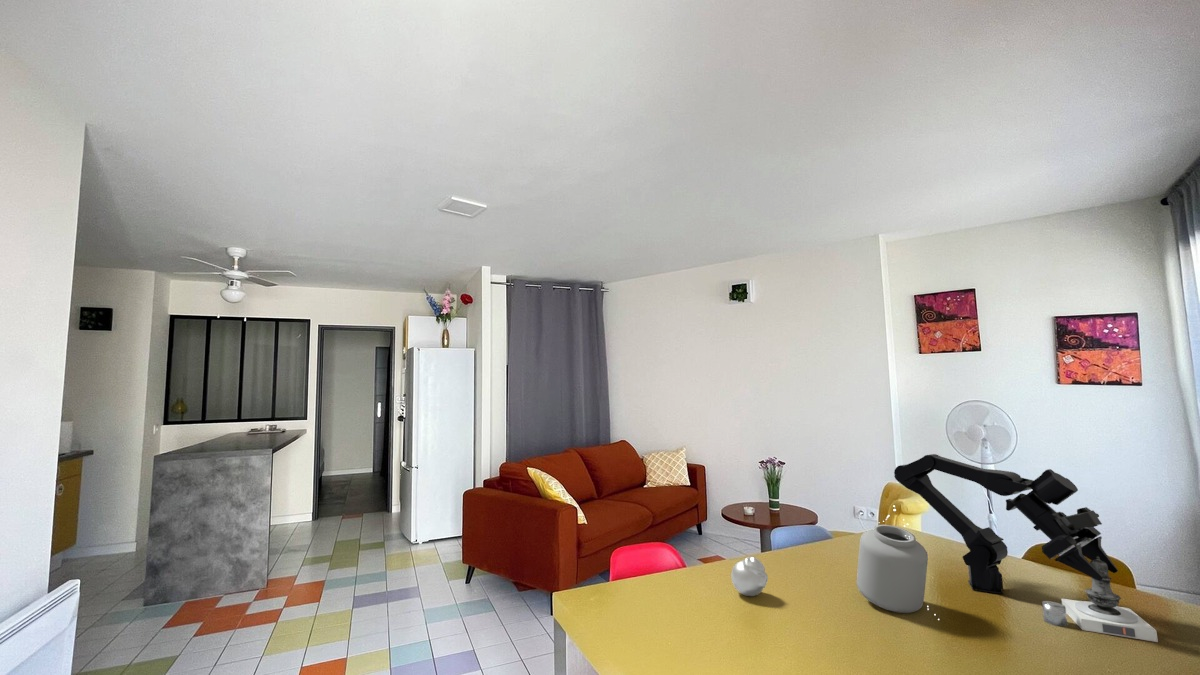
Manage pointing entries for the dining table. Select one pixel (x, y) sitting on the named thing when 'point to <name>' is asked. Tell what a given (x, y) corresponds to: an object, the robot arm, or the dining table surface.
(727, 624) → the dining table surface
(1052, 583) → the dining table surface
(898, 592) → the jar
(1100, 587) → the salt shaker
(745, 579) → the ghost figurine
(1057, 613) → the spacer
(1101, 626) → the scale
